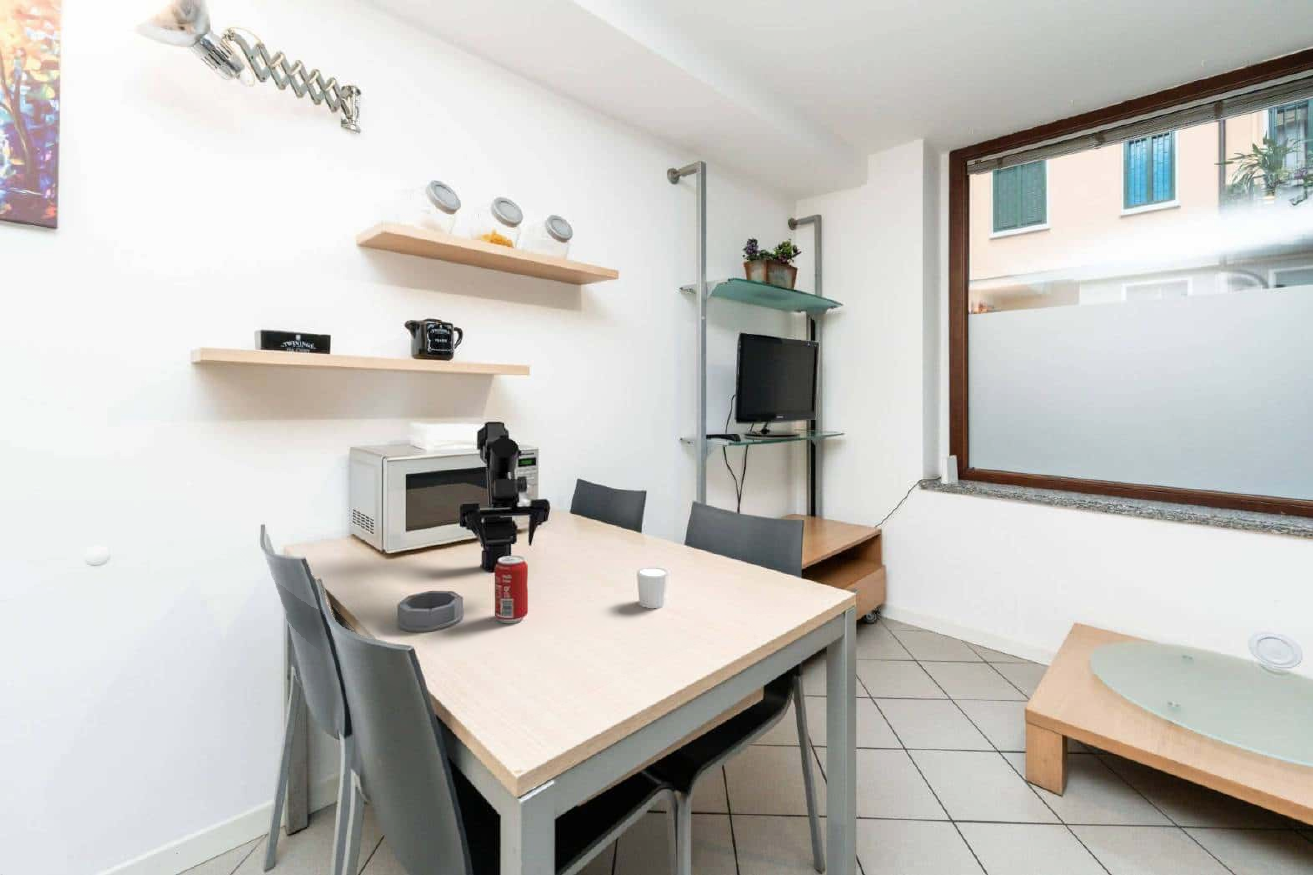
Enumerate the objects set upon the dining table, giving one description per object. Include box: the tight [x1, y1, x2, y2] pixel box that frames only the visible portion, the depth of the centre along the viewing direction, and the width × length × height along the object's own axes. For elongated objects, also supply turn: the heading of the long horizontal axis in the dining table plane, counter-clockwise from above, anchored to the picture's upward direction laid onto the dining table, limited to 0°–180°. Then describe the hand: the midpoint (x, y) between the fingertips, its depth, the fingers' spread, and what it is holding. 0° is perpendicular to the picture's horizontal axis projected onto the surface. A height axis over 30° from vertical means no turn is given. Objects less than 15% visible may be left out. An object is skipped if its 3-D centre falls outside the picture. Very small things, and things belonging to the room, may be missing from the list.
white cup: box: [636, 567, 670, 609], centre depth 118 cm, size 7×7×7 cm
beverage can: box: [494, 555, 529, 624], centre depth 109 cm, size 6×6×12 cm
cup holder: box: [396, 590, 464, 633], centre depth 108 cm, size 12×12×4 cm
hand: (507, 546), depth 115 cm, fingers open, 9 cm apart
